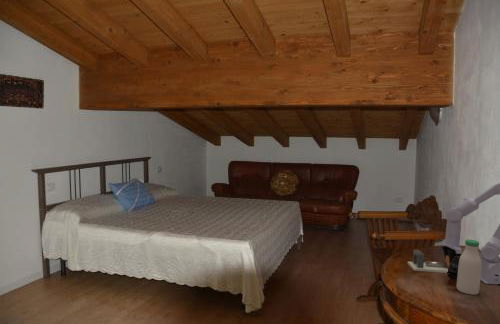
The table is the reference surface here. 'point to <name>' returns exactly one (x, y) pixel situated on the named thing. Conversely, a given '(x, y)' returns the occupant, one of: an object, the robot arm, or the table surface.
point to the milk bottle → (469, 269)
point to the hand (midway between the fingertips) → (450, 264)
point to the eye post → (418, 258)
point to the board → (428, 268)
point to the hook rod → (439, 263)
